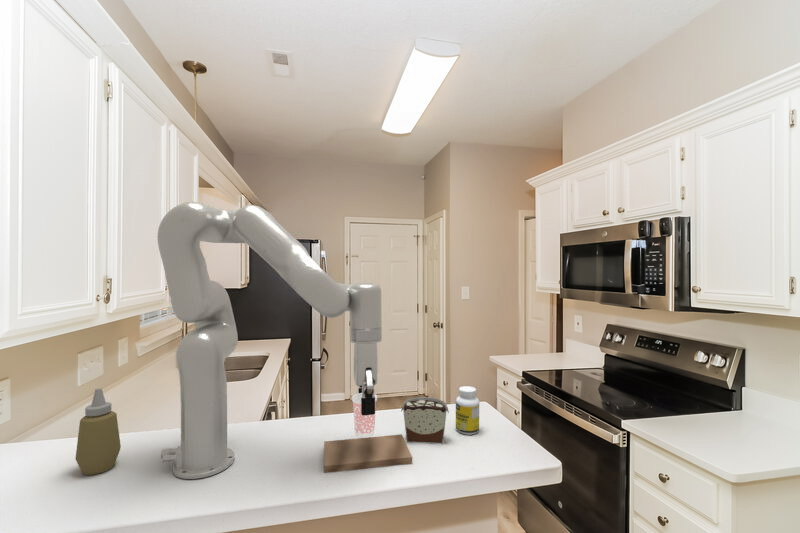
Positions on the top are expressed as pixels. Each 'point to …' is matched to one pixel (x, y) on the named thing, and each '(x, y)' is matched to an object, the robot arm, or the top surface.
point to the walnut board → (365, 453)
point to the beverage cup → (362, 418)
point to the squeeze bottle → (98, 437)
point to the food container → (424, 420)
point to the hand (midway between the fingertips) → (366, 408)
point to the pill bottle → (467, 411)
